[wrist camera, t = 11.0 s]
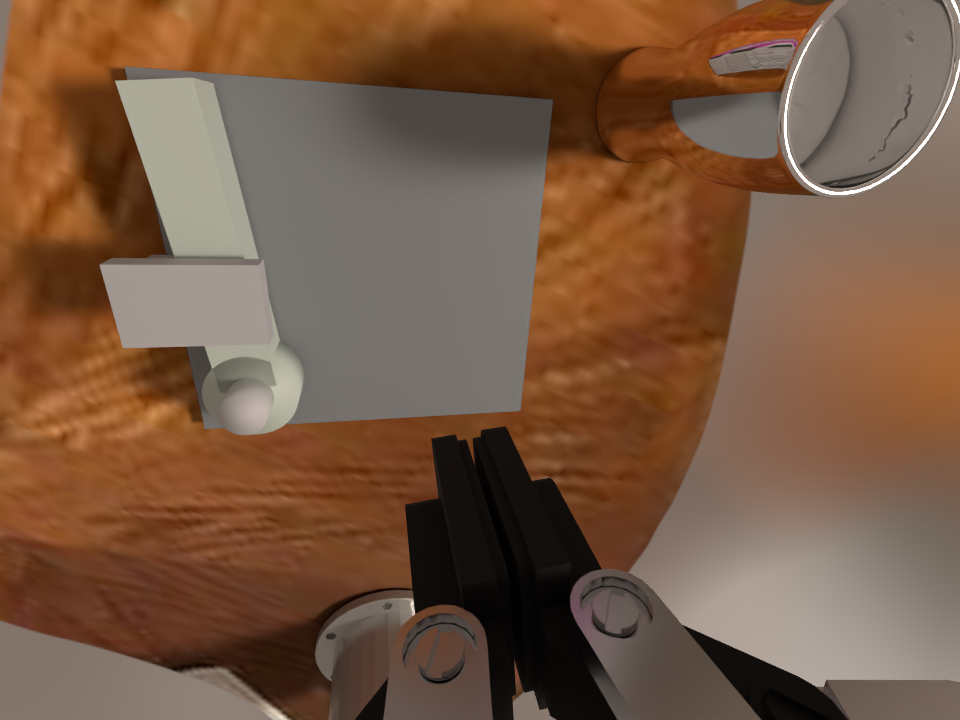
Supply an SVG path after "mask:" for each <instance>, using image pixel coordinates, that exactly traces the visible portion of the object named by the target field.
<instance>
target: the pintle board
mask: <svg viewBox="0 0 960 720" xmlns="http://www.w3.org/2000/svg"><path fill="white" fill-rule="evenodd" d="M125 72H126V76H127V80H145V79H169V78H196V79H200V80H203V81H207V82H211V83H213V84H214V88H215V92H216V96H217V100H218V104H219V108H220V111H221V115H222V119H223V123H224V127H225V131H226V135H227V138H228V142H229V146H230V150H231V154H232V158H233V162H234V165H235V169H236V173H237V177H238V181H239V185H240V189H241V192H242V196H243V200H244V204H245V208H246V212H247V216H248V219H249V223H250V227H251V231H252V235H253V239H254V243H255V246H256V250H257V254H258V258H259V259H185V258H175V257H174V254H173V251H172V248H171V245H170V242H169V239H168V236H167V233H166V230H165V228H164V225H163V222H162V219H161V216H160V213H159V210H158V207H157V204H156V201H155V198H154V195H153V198H154V202H155V207H156V211H157V216H158V220H159V225H160V229H161V234H162V238H163V243H164V247H165V252H166V255H151V256H149V257H147V258H111V259H109V260H108V261H106V262H104V263H102V264H100V269H101V272H102V276H103V279H104V283H105V286H106V290H107V293H108V297H109V300H110V304H111V307H112V311H113V314H114V318H115V321H116V325H117V328H118V332H119V335H120V339H121V343H122V346H123V348H148V347H187V351H188V355H189V360H190V364H191V369H192V373H193V378H194V382H195V387H196V391H197V396H198V400H199V405H200V409H201V414H202V418H203V423H204V427H205V429H213V428H224V427H223V426H222V425H221V424H220V423H218V422H217V421H216V420H215V419H214V418H213V417H212V416H211V415H210V414H209V412H208V411H207V409H206V407H205V405H204V402H203V399H202V387H203V383H204V380H205V378H206V376H207V375H208V373H209V372H210V370H211V369H212V367H211V364H210V361H209V358H208V355H207V352H206V349H205V346H225V345H264V344H270V343H271V341H272V338H273V336H274V331H273V324H272V316H271V309H270V304H271V308H272V312H273V316H274V320H275V324H276V328H277V331H278V335H279V339H280V341H282V342H284V343H286V344H287V345H289V346H290V347H291V348H292V349H293V350H294V351H295V352H296V353H297V354H298V356H299V357H300V359H301V361H302V363H303V366H304V370H305V379H304V384H303V387H302V391H301V395H300V399H299V402H298V406H297V409H296V411H295V413H294V415H293V417H292V418H291V419H290V420H289V421H288V422H287V423H286V424H300V423H318V422H335V421H352V420H370V419H387V418H405V417H422V416H440V415H457V414H475V413H492V412H510V411H520V409H521V399H522V390H523V380H524V371H525V361H526V352H527V342H528V333H529V323H530V314H531V304H532V295H533V285H534V276H535V266H536V257H537V247H538V238H539V229H540V219H541V210H542V200H543V191H544V181H545V172H546V162H547V153H548V143H549V134H550V124H551V115H552V105H553V100H552V99H539V98H526V97H513V96H500V95H487V94H474V93H461V92H448V91H435V90H422V89H410V88H397V87H384V86H371V85H358V84H345V83H332V82H319V81H306V80H293V79H280V78H267V77H254V76H241V75H228V74H215V73H202V72H189V71H176V70H163V69H150V68H137V67H125ZM152 193H153V192H152ZM269 301H270V302H269Z"/></svg>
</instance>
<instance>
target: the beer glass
mask: <svg viewBox="0 0 960 720" xmlns="http://www.w3.org/2000/svg"><path fill="white" fill-rule="evenodd" d="M959 78H960V3H959V1H958V0H761V1H759V2H756V3H753V4H751V5H748V6H746V7H744V8H742V9H740V10H738V11H736V12H734V13H732V14H731V15H729V16H727V17H725V18H723V19H721V20H719V21H718V22H716V23H714V24H713V25H711V26H709V27H708V28H706V29H705V30H703V31H701V32H700V33H698V34H697V35H695V36H694V37H692V38H691V39H689V40H688V41H686V42H685V43H683V44H681V45H680V46H678V47H676V48H666V47H656V46H652V47H645V48H640V49H637V50H635V51H633V52H631V53H629V54H628V55H626V56H625V57H623V58H622V59H621V60H620V61H619V62H617V63H616V65H615V66H614V67H613V68H612V69H611V70H610V72H609V73H608V75H607V76H606V78H605V80H604V82H603V84H602V86H601V89H600V92H599V95H598V99H597V105H596V122H597V128H598V132H599V135H600V137H601V139H602V141H603V143H604V145H605V146H606V148H607V149H608V150H609V151H610V152H611V153H612V154H613V155H615V156H616V157H618V158H619V159H621V160H623V161H626V162H630V163H646V162H652V161H656V160H660V159H665V160H667V161H669V162H671V163H673V164H675V165H677V166H679V167H681V168H683V169H685V170H687V171H689V172H691V173H693V174H695V175H697V176H699V177H701V178H704V179H707V180H709V181H712V182H714V183H717V184H720V185H724V186H728V187H733V188H737V189H741V190H747V191H754V192H763V193H771V194H787V195H808V196H822V197H827V198H847V197H852V196H856V195H859V194H863V193H865V192H868V191H870V190H872V189H874V188H876V187H878V186H880V185H881V184H883V183H885V182H886V181H888V180H889V179H891V178H892V177H894V176H895V175H896V174H898V173H899V172H900V171H901V170H902V169H903V168H905V167H906V166H907V165H908V164H909V163H910V162H911V161H912V160H913V159H914V158H915V157H916V156H917V154H918V153H919V152H920V151H921V150H922V149H923V147H924V146H925V145H926V144H927V142H928V141H929V140H930V138H931V137H932V135H933V134H934V132H935V131H936V129H937V128H938V126H939V124H940V123H941V121H942V119H943V117H944V115H945V113H946V111H947V109H948V107H949V105H950V103H951V100H952V98H953V95H954V93H955V90H956V87H957V84H958V81H959Z"/></svg>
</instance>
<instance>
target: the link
mask: <svg viewBox="0 0 960 720" xmlns="http://www.w3.org/2000/svg"><path fill="white" fill-rule="evenodd" d="M115 82H116V85H117V88H118V91H119V94H120V97H121V100H122V103H123V106H124V109H125V112H126V115H127V118H128V121H129V124H130V127H131V130H132V133H133V136H134V139H135V142H136V144H137V147H138V150H139V153H140V156H141V159H142V162H143V165H144V168H145V171H146V174H147V177H148V180H149V183H150V186H151V189H152V192H153V195H154V198H155V201H156V204H157V207H158V210H159V213H160V216H161V219H162V222H163V225H164V228H165V230H166V233H167V236H168V239H169V242H170V245H171V248H172V251H173V254H174V257H175V258H185V259H259V258H258V254H257V250H256V246H255V243H254V239H253V235H252V231H251V227H250V223H249V219H248V216H247V212H246V208H245V204H244V200H243V196H242V192H241V189H240V185H239V181H238V177H237V173H236V169H235V165H234V162H233V158H232V154H231V150H230V146H229V142H228V138H227V135H226V131H225V127H224V123H223V119H222V115H221V111H220V108H219V104H218V100H217V96H216V92H215V88H214V84H213V83H211V82H207V81H203V80H200V79H196V78H169V79H145V80H120V81H115ZM269 302H270V301H269ZM270 309H271V316H272V324H273V331H274V336H273V338H272V341H271V343H270V344H264V345H225V346H205V349H206V352H207V355H208V358H209V361H210V364H211V367H212V369H211V370H210V372H209V373H208V375H207V376H206V378H205V380H204V383H203V387H202V399H203V402H204V405H205V407H206V409H207V411H208V412H209V414H210V415H211V416H212V417H213V418H214V419H215V420H216V421H217V422H218V423H220V424H221V425H222V426H223V427H224V428H225V429H227V430H228V431H230V432H232V433H235V434H239V435H250V434H264V433H269V432H272V431H274V430H277V429H279V428H280V427H282V426H284V425H285V424H286V423H287V422H288V421H289V420H290V419H291V418H292V417H293V415H294V413H295V411H296V409H297V406H298V402H299V399H300V395H301V391H302V387H303V384H304V379H305V370H304V366H303V363H302V361H301V359H300V357H299V356H298V354H297V353H296V352H295V351H294V350H293V349H292V348H291V347H290V346H289V345H287V344H286V343H284V342H282V341H280V339H279V335H278V331H277V328H276V324H275V320H274V316H273V312H272V308H271V304H270Z"/></svg>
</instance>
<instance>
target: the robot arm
mask: <svg viewBox="0 0 960 720" xmlns="http://www.w3.org/2000/svg"><path fill="white" fill-rule="evenodd" d="M431 440H432V449H433V457H434V465H435V473H436V481H437V489H438V496H439V498H438V499H433V500H428V501H422V502H417V503H411V504H406V505H405V508H406V520H407V531H408V543H409V554H410V565H411V576H412V587H413V591H411V590H390V591H382V592H377V593H373V594H369V595H366V596H363V597H361V598H358V599H355V600H354V601H352V602H350V603H348V604H346V605H344V606H343V607H341V608H340V609H339V610H337V611H336V612H335V613H333V614H332V615H331V616H330V617H329V618H328V620H327V621H326V622H325V623H324V625H323V626H322V628H321V629H320V631H319V634H318V637H317V640H316V650H315V658H316V664H317V666H318V668H319V670H320V672H321V673H322V674H323V675H324V676H325V677H326V678H327V679H328V680H330V681H331V682H332V685H331V698H330V711H329V720H514V719H513V702H512V696H513V695H516V687H515V669H514V660H515V663H516V667H517V670H518V674H519V678H520V681H521V685H522V688H523V691H524V692H529V691H533V690H534V692H535V696H536V699H537V702H538V706H539V709H540V710H541V709H546V708H548V710H549V713H550V716H551V717H553V718H555V719H556V720H960V682H955V681H949V680H826V683H825V685H824V687H815V686H814V685H812V684H810V683H809V682H807V681H805V680H803V679H802V678H800V677H798V676H796V675H794V674H791V673H789V672H787V671H785V670H783V669H780V668H778V667H776V666H773V665H771V664H769V663H767V662H764V661H762V660H760V659H758V658H756V657H753V656H751V655H749V654H747V653H744V652H742V651H740V650H738V649H735V648H733V647H731V646H729V645H726V644H724V643H722V642H720V641H717V640H715V639H713V638H711V637H708V636H706V635H704V634H702V633H699V632H697V631H695V630H693V629H690V628H688V627H686V626H684V625H682V624H681V623H680V622H679V621H678V619H677V618H676V617H675V616H674V615H673V613H672V612H671V611H670V610H669V609H668V607H667V606H666V605H665V604H664V603H663V601H662V600H661V599H660V598H659V597H658V595H657V594H656V593H655V592H654V591H653V590H652V589H651V588H650V587H649V586H648V585H647V584H646V583H645V582H644V581H642V580H641V579H639V578H637V577H636V576H634V575H632V574H630V573H627V572H623V571H620V570H614V569H601V567H600V565H599V563H598V561H597V560H596V558H595V556H594V554H593V552H592V550H591V548H590V547H589V545H588V543H587V541H586V539H585V537H584V536H583V534H582V532H581V530H580V528H579V526H578V524H577V523H576V521H575V519H574V517H573V515H572V513H571V512H570V510H569V508H568V506H567V504H566V502H565V500H564V499H563V497H562V495H561V493H560V491H559V489H558V488H557V486H556V484H555V482H554V481H553V479H551V478H546V479H541V480H535V481H532V480H531V478H530V476H529V474H528V472H527V470H526V468H525V466H524V463H523V461H522V459H521V457H520V455H519V453H518V451H517V449H516V447H515V445H514V442H513V440H512V438H511V436H510V434H509V432H508V430H507V428H506V427H505V426H504V427H498V428H492V429H486V430H481V437H477V438H473V449H474V461H475V465H474V462H473V459H472V456H471V453H470V450H469V447H468V443H467V441H466V439H465V440H459V441H458V440H457V437H456V435H450V436H444V437H438V438H432V439H431Z"/></svg>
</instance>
